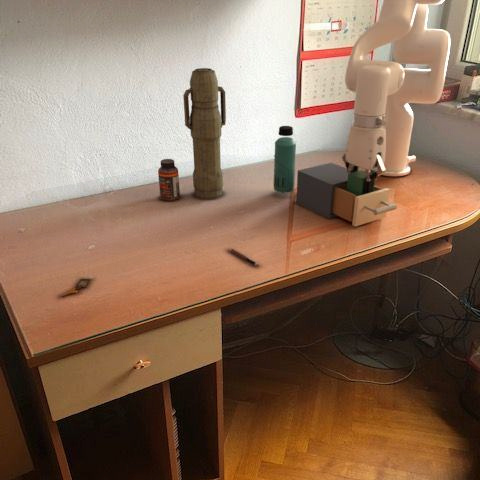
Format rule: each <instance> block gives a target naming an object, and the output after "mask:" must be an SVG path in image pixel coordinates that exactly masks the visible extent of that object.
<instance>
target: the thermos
mask: <svg viewBox="0 0 480 480" xmlns="http://www.w3.org/2000/svg"><path fill="white" fill-rule="evenodd" d="M219 92H220V93H219ZM219 94H220V95H219ZM182 96H183V97H182V98H183V113H184V114H183V115H184V126H185V127H186V128H187V129H189V131H190V137H191V138H192V139H191V140H192V151H193V152H192V153H193V172H192V184H193V188H194V189H193V190H194V194H193V195H194V197H196V198H197V199H200V200H215V199H219V198H221V197H222V196H223V195H224V192H223V187H224V172H223V170H222V165H221V164H222V163H221V161H222V160H221V137H222V128H223V126H226V119H227V113H226V111H227V107H226V91H225V90H224V87H222V86H220V85H219V80H218V77H217V75H216V71H215V70H214V69H212V68H209V67H199V68H194V70H192V71H191V75H190V80H189V88H188V89H185V91H184V94H183V95H182ZM189 96H190V101H191V106H190V103H189V102H190V101H189ZM219 96H220V107H219V104H218V103H219V102H218V101H219ZM190 107H191V110H190ZM219 108H220V109H219Z"/></svg>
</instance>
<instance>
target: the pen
mask: <svg viewBox="0 0 480 480" xmlns="http://www.w3.org/2000/svg"><path fill="white" fill-rule="evenodd" d="M229 251H230V252H232V253H233V254H234V255H237V256H238V257H240V258H242V260H244V261H246V262H249V264H252V265H253V266H256V267H258V266H259V263H258V262H257V261H256V260H255V259H253V258H251V257H249V256H248V255H244V254H242V253H240V252H239V251H237V250H235V249H233V248H229Z"/></svg>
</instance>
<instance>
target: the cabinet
mask: <svg viewBox="0 0 480 480" xmlns="http://www.w3.org/2000/svg"><path fill="white" fill-rule="evenodd" d="M296 177H297V179H296V196H295V197H296V198H295V202H296V203H297V204H298V205H300V206H302V207H304V208H307V209H309V210H310V211H313V212H314V213H317V214H319V215H321V216H322V217H325V218H327V219H332V218H336V217H338V216H337V215H335V214H333V213H332V203H333V192H334V187H336V186H340V185H344V184H347V181H348V173H347V168H346V167H344V166H341V165H339V164H335V163H333V162H328V163H323V164H320V165H315V166H310V167H307V168H302V169H298V170H297V176H296Z"/></svg>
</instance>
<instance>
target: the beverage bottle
mask: <svg viewBox="0 0 480 480" xmlns="http://www.w3.org/2000/svg"><path fill="white" fill-rule="evenodd" d="M293 135H294V128H293V126H290V125H281V126H279V127H278V136H281V137H279V138H277V139H276V140H275V141H274V155H273V157H274V158H273V160H274V162H273V165H274V167H273V190H274V191H275V192H277V193H282V194H286V193H287V194H288V193H291V192H293V191H295V181H296V151H297V141H296V140H295V139H294V138H292V137H291V136H293Z"/></svg>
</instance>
